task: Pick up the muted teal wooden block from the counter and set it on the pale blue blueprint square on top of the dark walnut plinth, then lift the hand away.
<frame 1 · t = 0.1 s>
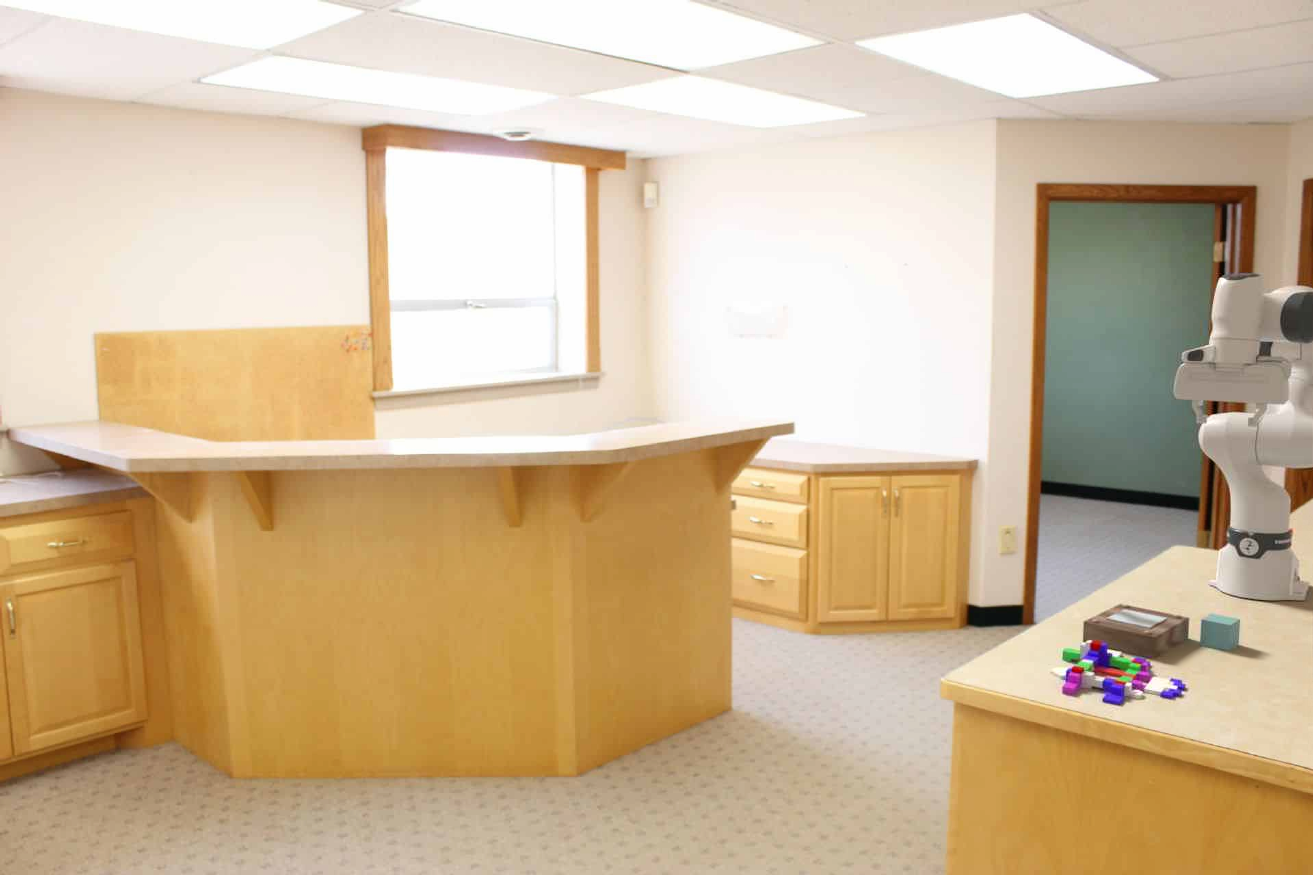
hand: (1226, 425, 208), 39 cm above the countertop, fingers open, 8 cm apart
plinth: (1135, 639, 198), on the countertop
teal block: (1219, 645, 195), on the countertop
building block set: (1117, 682, 179), on the countertop
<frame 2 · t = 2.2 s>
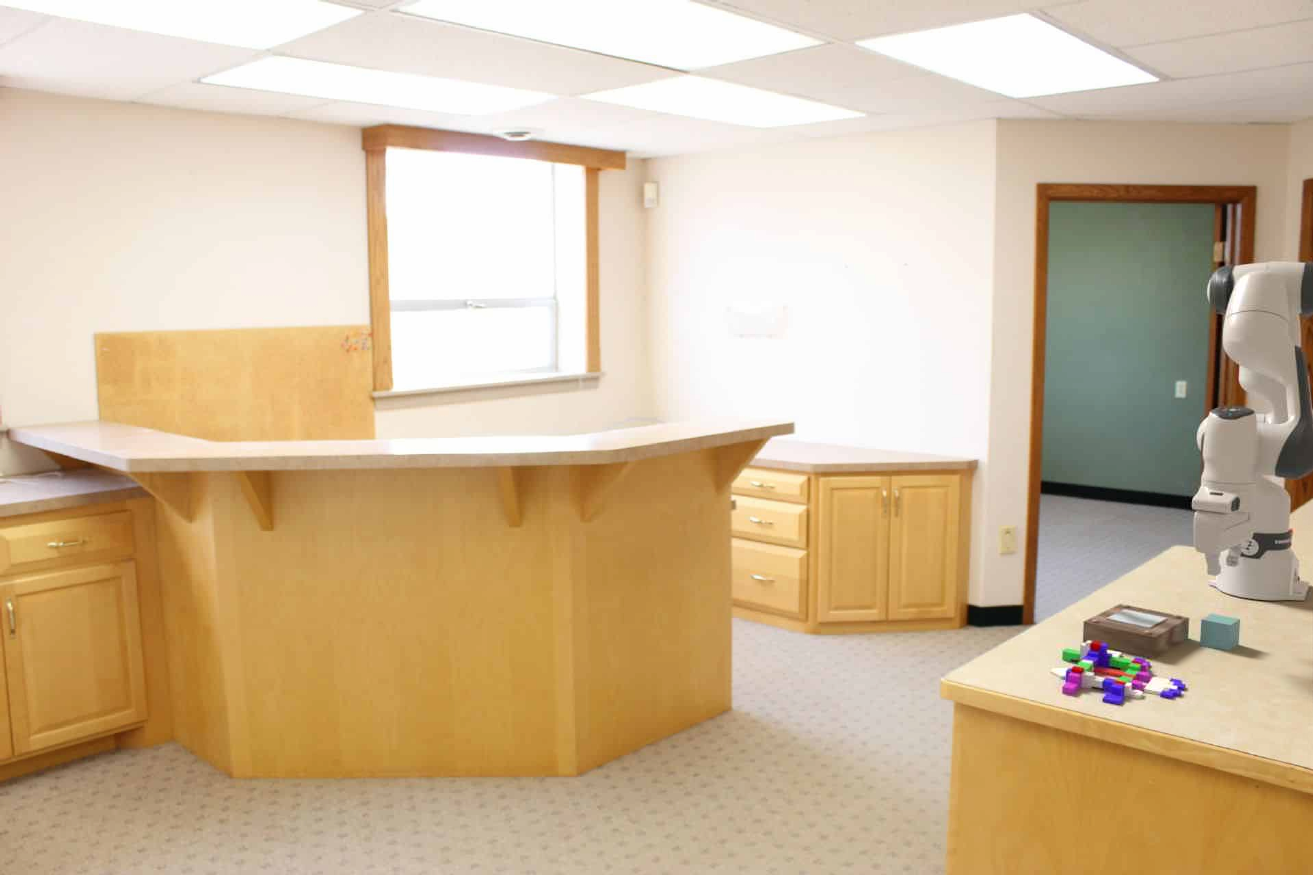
hand: (1223, 570, 193), 14 cm above the countertop, fingers open, 8 cm apart
nothing on the countertop moved.
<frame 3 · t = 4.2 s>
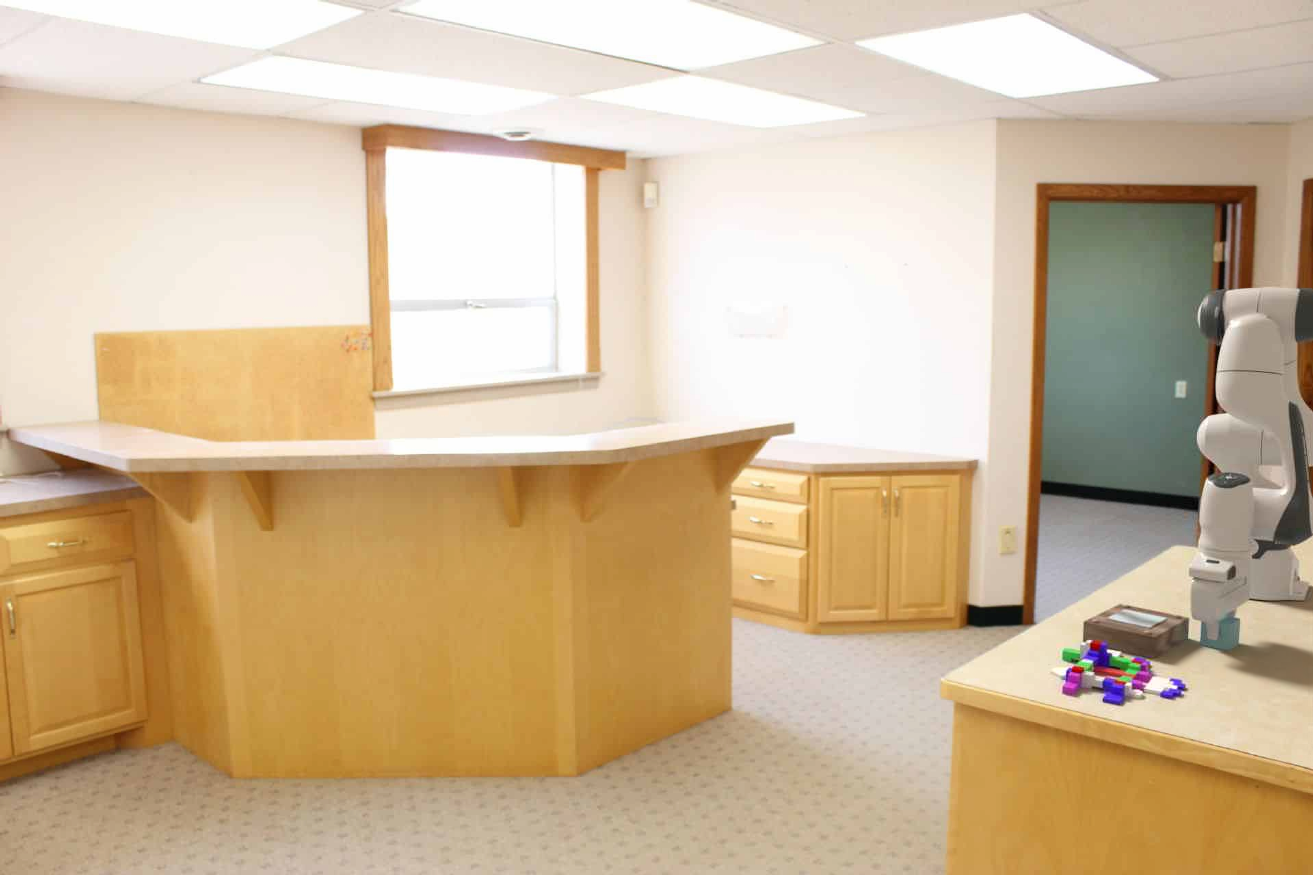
hand: (1219, 634, 195), 2 cm above the countertop, fingers closed on teal block, 5 cm apart
teal block: (1219, 644, 195), on the countertop, touching gripper
everything else where it was.
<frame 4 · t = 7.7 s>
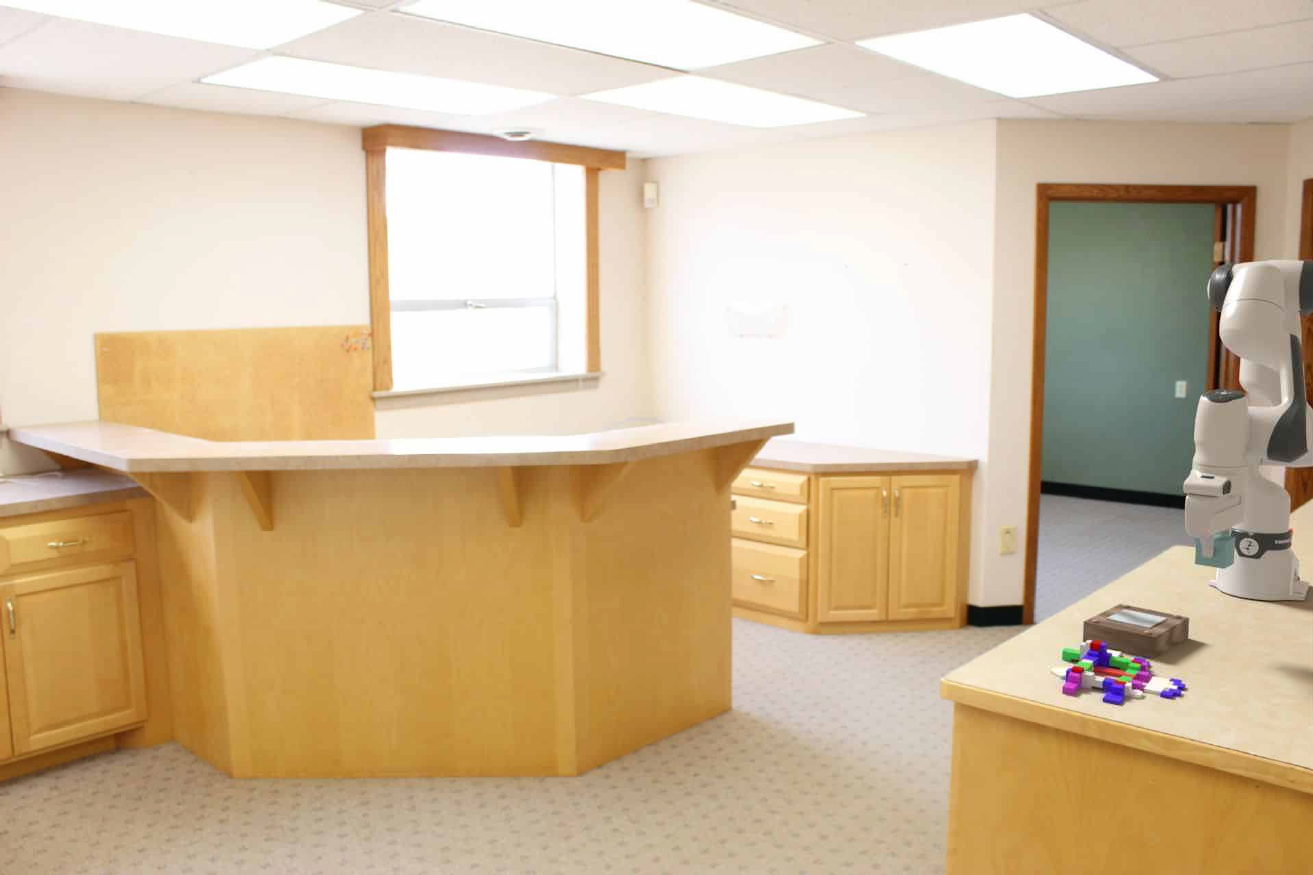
hand: (1214, 553, 193), 17 cm above the countertop, fingers closed on teal block, 5 cm apart
teal block: (1214, 563, 193), point 15 cm above the countertop, touching gripper
everything else where it was.
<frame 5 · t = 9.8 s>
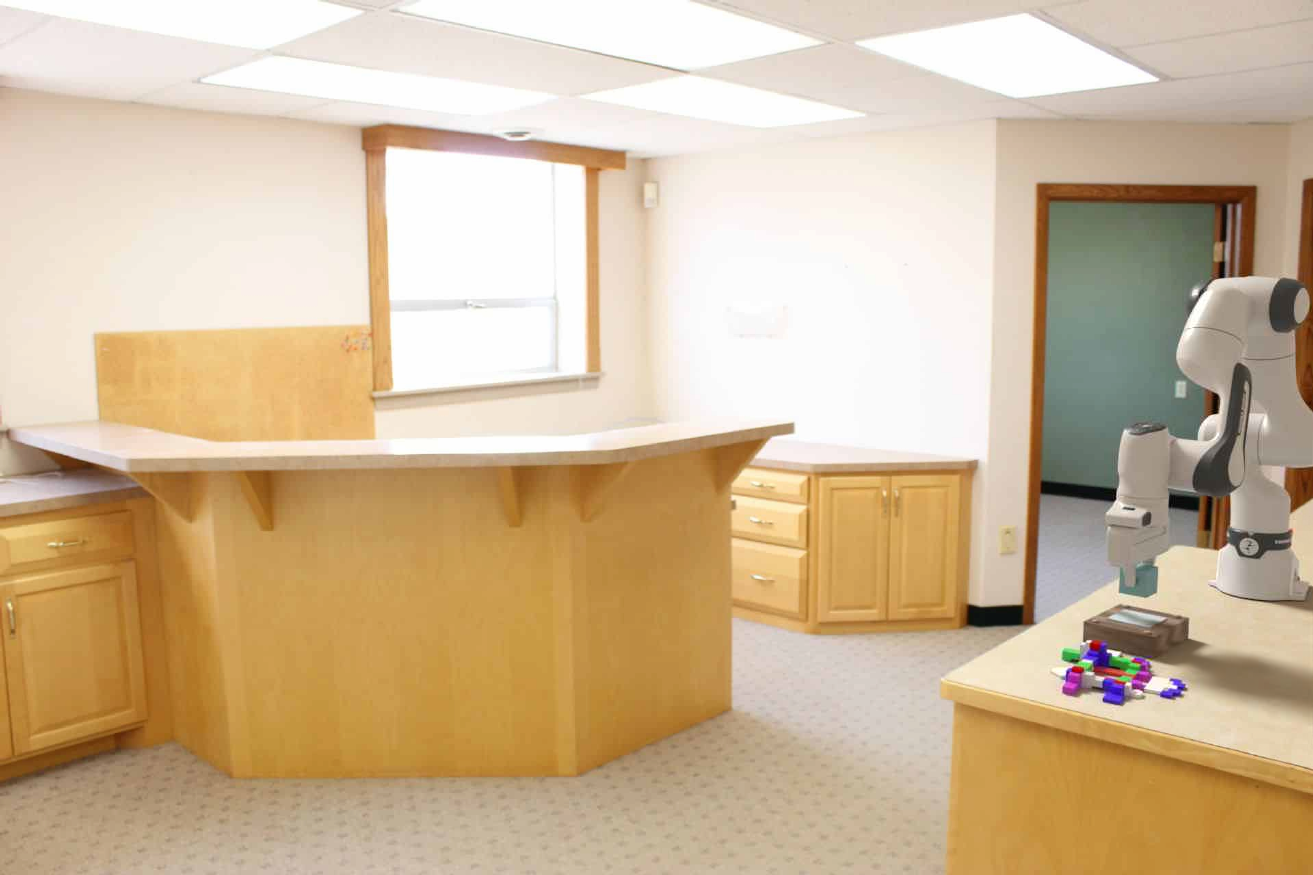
hand: (1138, 582, 197), 11 cm above the countertop, fingers closed on teal block, 5 cm apart
teal block: (1137, 592, 197), point 9 cm above the countertop, touching gripper
everything else where it was.
when the fingers open (8 cm above the countertop, at t = 11.3 s): teal block drops 1 cm, resting on plinth.
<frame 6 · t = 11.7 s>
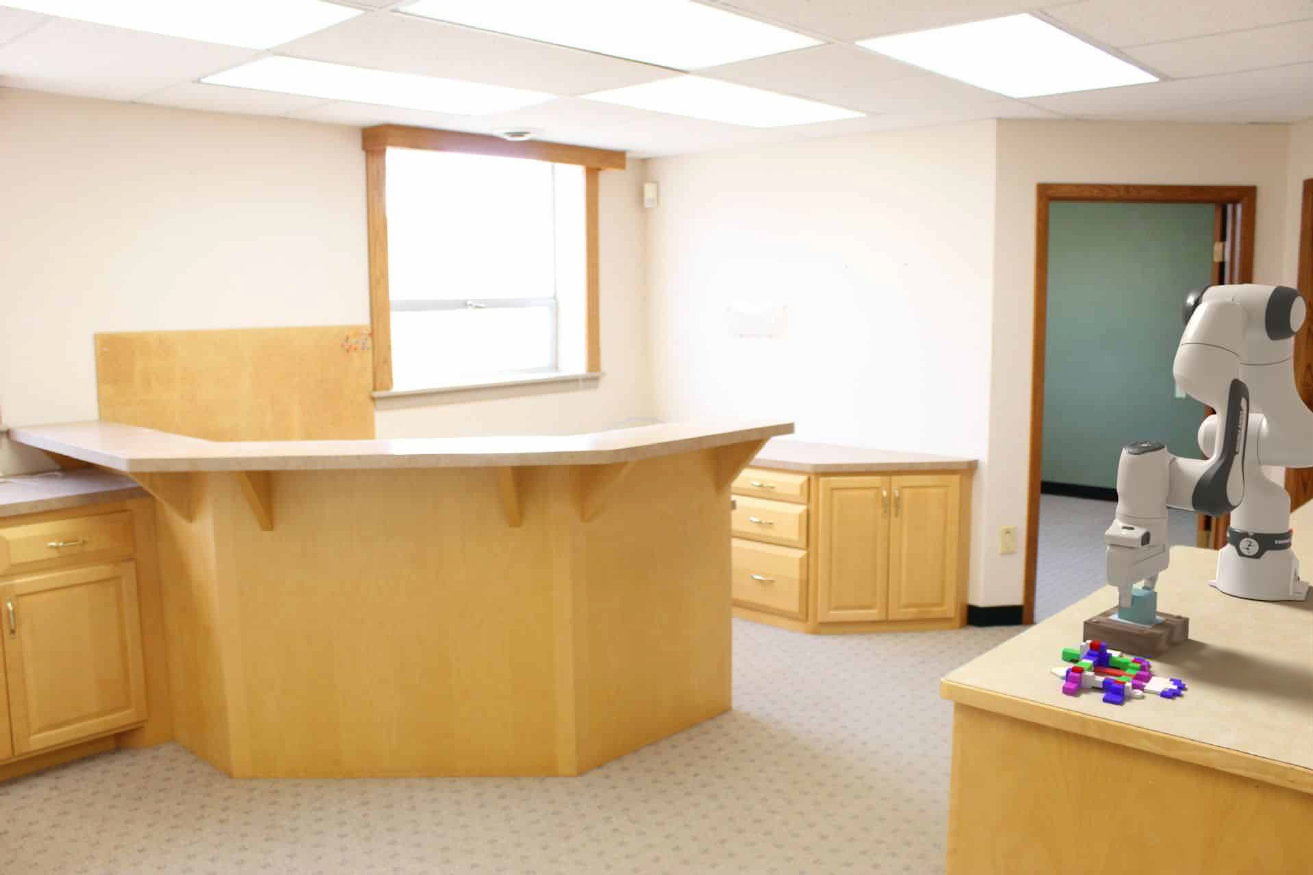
hand: (1137, 601, 197), 8 cm above the countertop, fingers open, 8 cm apart
teal block: (1137, 617, 198), point 4 cm above the countertop, touching plinth
everything else where it was.
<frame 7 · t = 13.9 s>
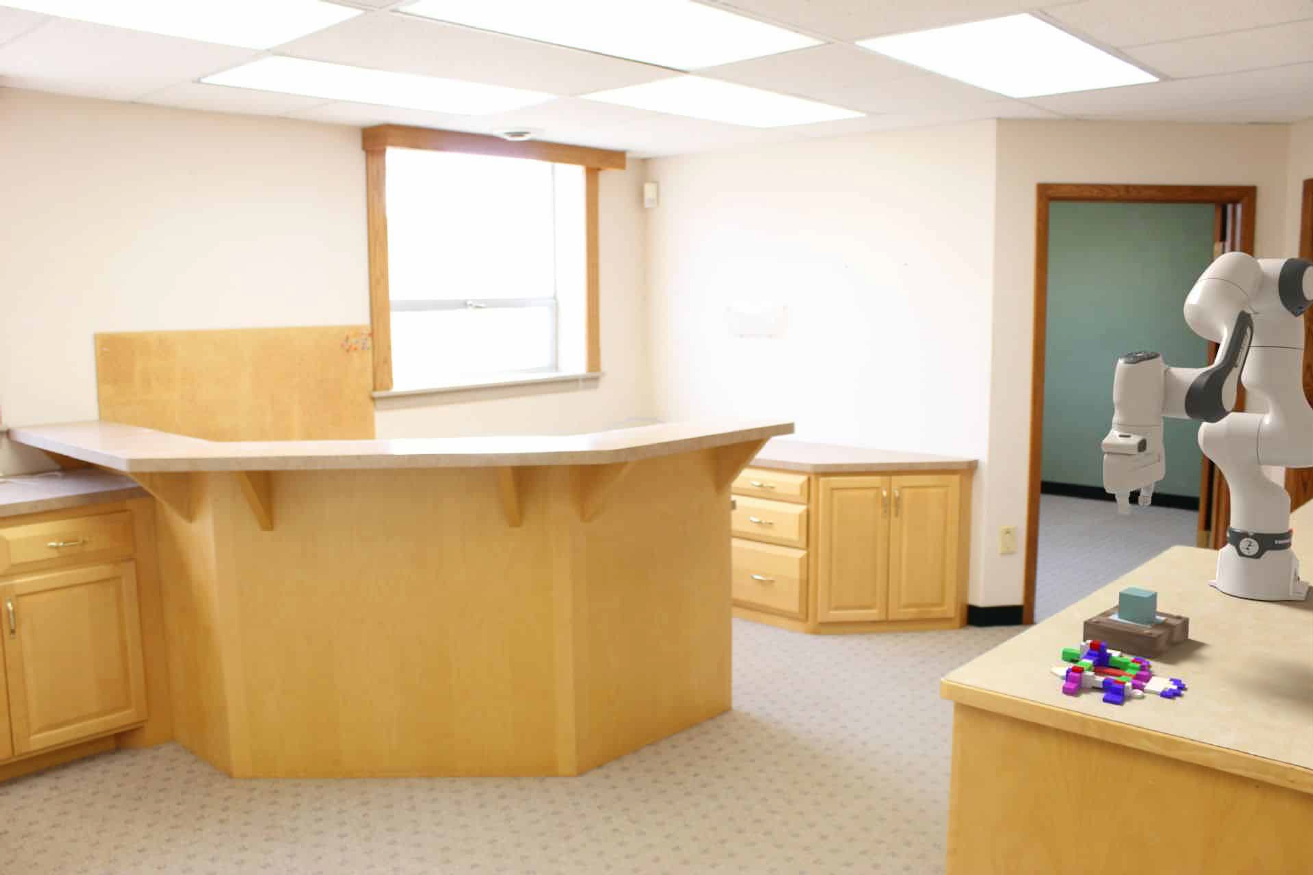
hand: (1134, 509, 201), 24 cm above the countertop, fingers open, 8 cm apart
nothing on the countertop moved.
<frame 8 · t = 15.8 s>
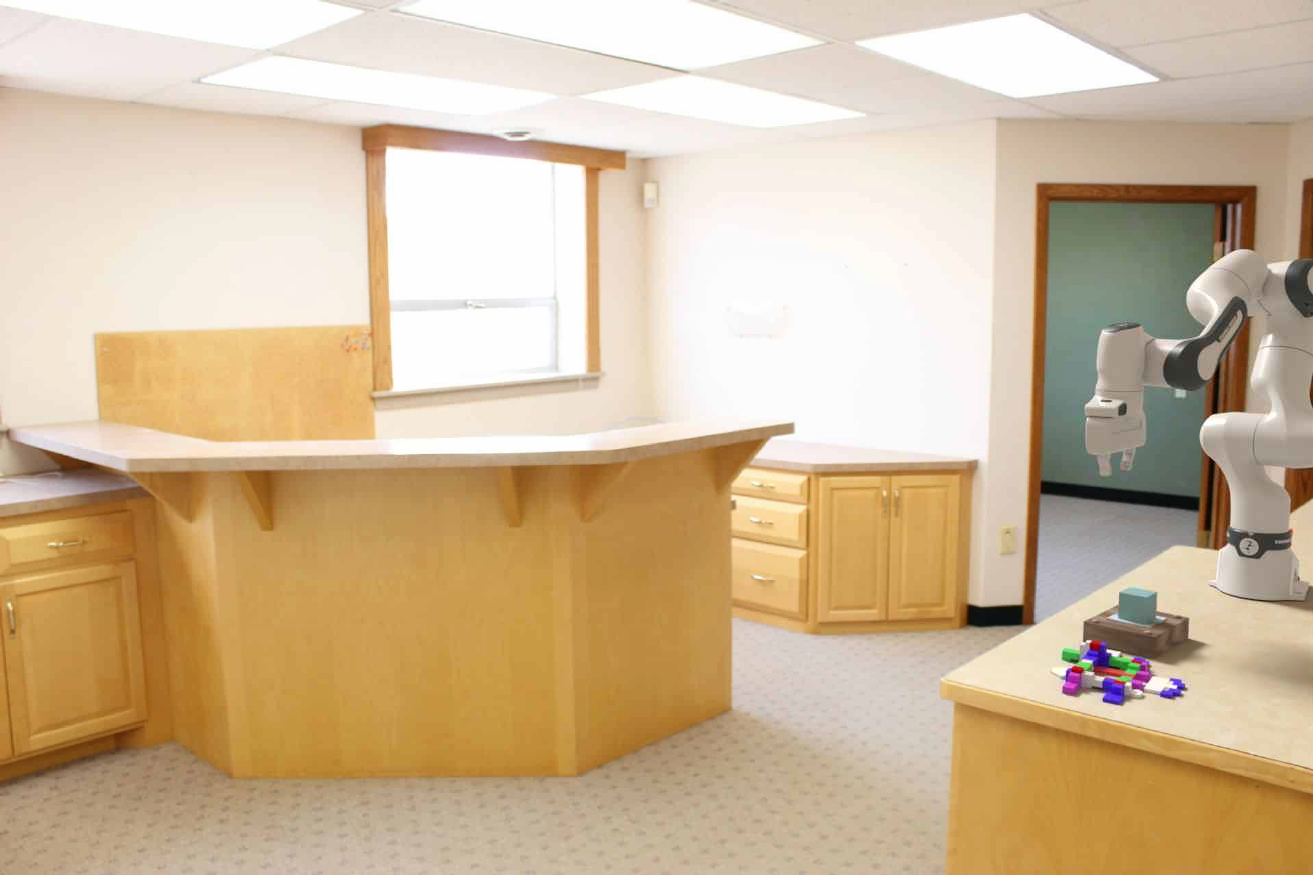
hand: (1115, 472, 212), 29 cm above the countertop, fingers open, 8 cm apart
nothing on the countertop moved.
at the end: teal block 0.1 cm off-centre on the plinth, point 4.3 cm above the plinth's base; teal block tilted 0°; the gripper is holding nothing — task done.
